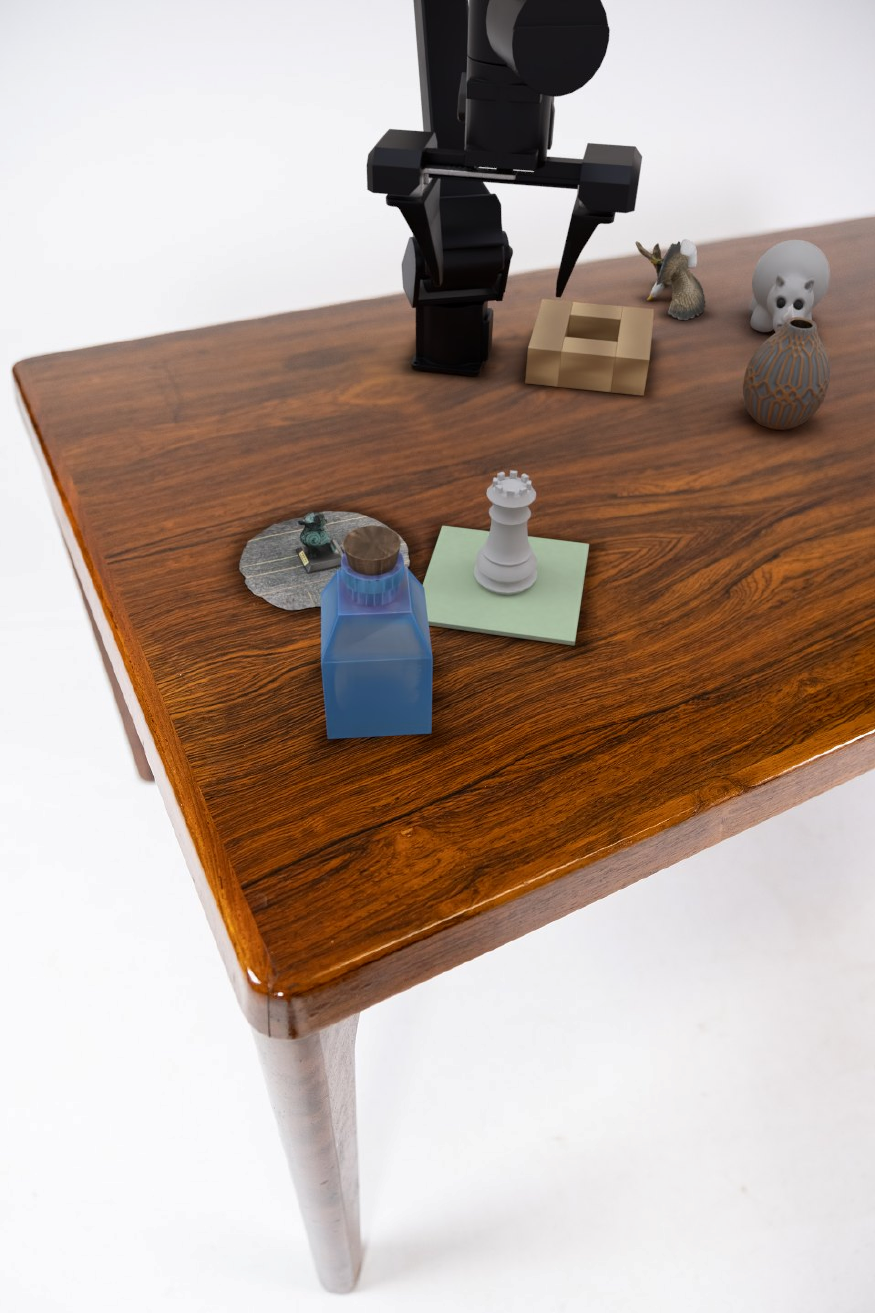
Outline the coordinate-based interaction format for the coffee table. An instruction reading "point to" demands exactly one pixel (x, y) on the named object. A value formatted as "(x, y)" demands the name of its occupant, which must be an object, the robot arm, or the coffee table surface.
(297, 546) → the sculpture
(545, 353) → the socket block
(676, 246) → the eagle figurine
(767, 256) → the round bodied animal figurine
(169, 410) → the coffee table surface
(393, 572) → the perfume bottle
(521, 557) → the rook chess piece
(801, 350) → the vase
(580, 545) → the mat
